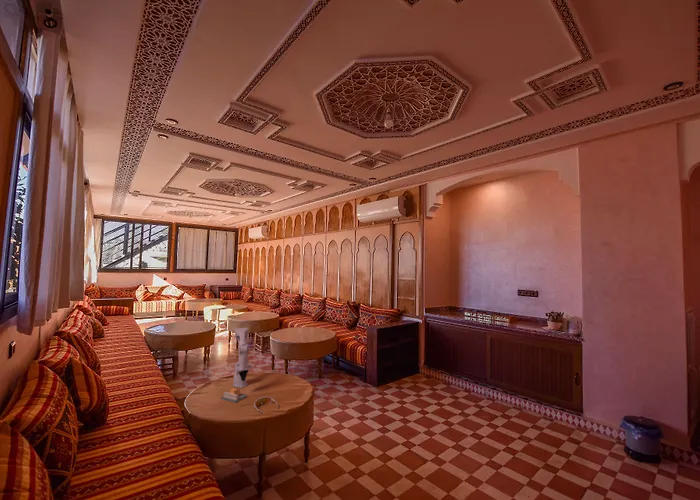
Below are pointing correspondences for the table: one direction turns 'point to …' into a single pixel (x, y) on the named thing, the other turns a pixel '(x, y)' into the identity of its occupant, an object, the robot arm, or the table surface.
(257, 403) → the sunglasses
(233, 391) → the block
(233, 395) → the board
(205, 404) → the table surface
